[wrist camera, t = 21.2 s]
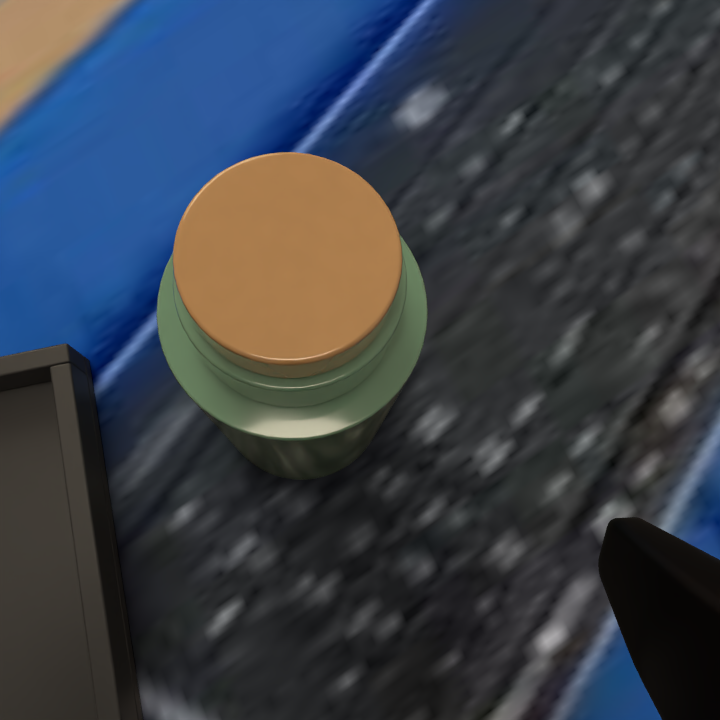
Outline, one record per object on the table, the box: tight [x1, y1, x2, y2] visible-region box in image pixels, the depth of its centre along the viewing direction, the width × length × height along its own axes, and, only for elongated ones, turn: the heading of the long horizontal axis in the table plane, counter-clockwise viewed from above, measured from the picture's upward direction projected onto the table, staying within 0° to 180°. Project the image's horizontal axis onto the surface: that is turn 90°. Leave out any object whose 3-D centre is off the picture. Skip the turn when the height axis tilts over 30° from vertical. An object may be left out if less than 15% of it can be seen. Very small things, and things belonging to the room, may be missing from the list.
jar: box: [157, 152, 428, 480], centre depth 16 cm, size 5×5×12 cm
